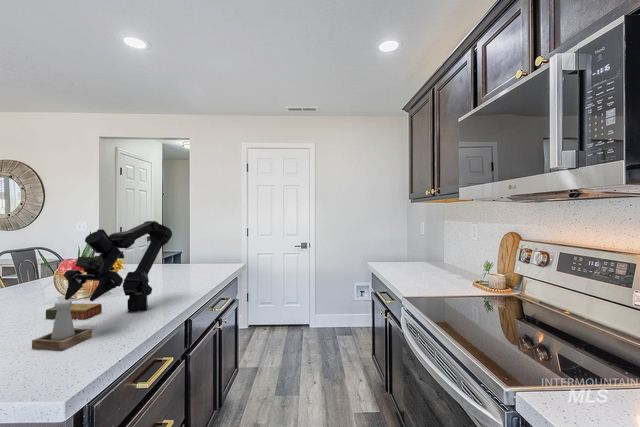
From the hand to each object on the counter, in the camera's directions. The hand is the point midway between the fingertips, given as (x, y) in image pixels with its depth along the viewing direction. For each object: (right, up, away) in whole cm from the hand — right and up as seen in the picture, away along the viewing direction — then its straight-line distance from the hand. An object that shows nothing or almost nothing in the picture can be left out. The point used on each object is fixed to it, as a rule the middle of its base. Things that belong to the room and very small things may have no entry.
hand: (78, 300), depth 103 cm
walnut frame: (-1, -12, -5) cm, 13 cm away
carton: (-17, -12, +20) cm, 29 cm away
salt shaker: (-1, -12, -5) cm, 13 cm away
